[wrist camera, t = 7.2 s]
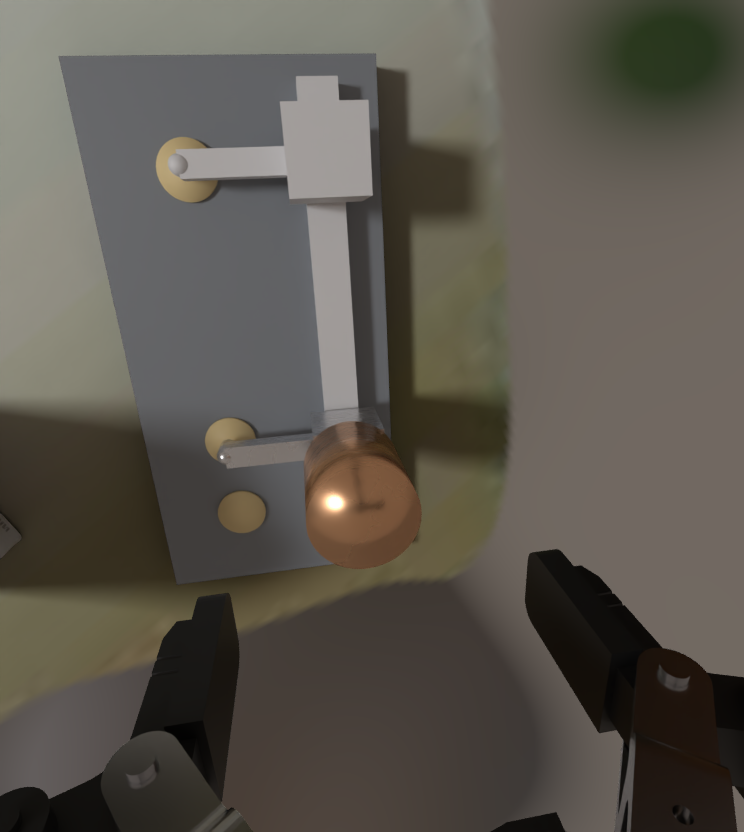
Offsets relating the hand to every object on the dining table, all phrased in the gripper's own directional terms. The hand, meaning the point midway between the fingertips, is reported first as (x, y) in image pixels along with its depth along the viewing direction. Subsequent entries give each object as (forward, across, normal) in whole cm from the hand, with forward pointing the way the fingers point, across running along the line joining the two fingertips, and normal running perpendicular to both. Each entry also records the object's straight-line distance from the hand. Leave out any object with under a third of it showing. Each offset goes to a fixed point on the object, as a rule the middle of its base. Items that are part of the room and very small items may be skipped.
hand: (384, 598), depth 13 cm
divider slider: (+12, +2, 0) cm, 12 cm away
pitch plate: (+14, +4, -4) cm, 15 cm away
